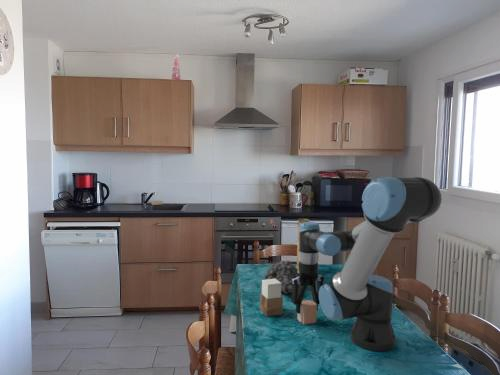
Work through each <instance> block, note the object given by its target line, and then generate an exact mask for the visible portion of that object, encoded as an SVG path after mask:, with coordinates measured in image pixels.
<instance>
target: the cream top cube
mask: <svg viewBox="0 0 500 375" xmlns="http://www.w3.org/2000/svg"><path fill="white" fill-rule="evenodd" d="M261 293H262V295H263V296H265V297H266V298H267V299H273V298H280V297H282V291H281V282H279V281H278V280H276V279H266V278H265V279H262V280H261Z"/></svg>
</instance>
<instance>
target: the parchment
mask: <svg viewBox="0 0 500 375" xmlns="http://www.w3.org/2000/svg"><path fill="white" fill-rule="evenodd" d="M303 222H310V219H309V218H298V219H297V241H296V242H297V246H296V247H297V248H296V268H297V269H298V272H297V273H299V262H300V261H299V232H300V224H301V223H303Z"/></svg>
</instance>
